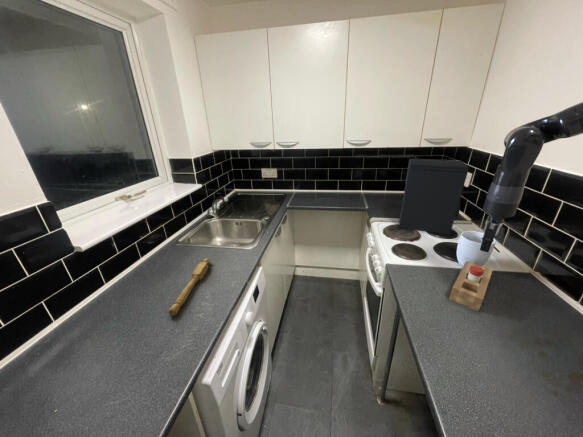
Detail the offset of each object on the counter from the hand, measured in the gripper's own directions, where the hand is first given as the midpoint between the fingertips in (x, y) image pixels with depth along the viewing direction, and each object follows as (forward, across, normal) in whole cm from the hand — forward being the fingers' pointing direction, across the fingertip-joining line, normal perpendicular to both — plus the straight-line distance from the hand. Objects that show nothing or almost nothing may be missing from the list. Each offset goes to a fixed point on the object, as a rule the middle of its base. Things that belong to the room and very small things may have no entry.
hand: (486, 245), depth 74 cm
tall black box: (+18, +46, +28) cm, 57 cm away
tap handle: (+18, -68, +77) cm, 104 cm away
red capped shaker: (+18, 0, 0) cm, 18 cm away
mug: (+18, +18, +3) cm, 26 cm away
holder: (+18, 0, 0) cm, 18 cm away
